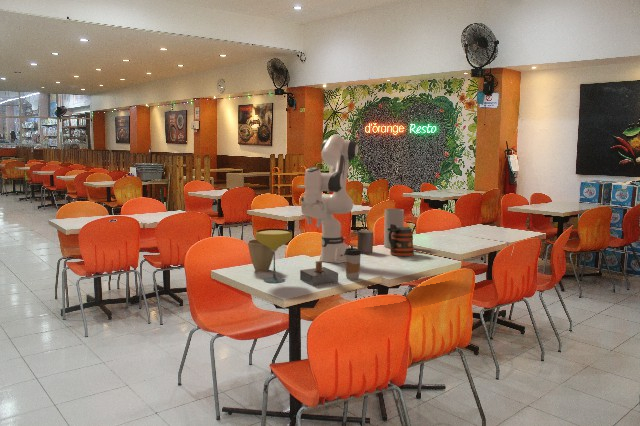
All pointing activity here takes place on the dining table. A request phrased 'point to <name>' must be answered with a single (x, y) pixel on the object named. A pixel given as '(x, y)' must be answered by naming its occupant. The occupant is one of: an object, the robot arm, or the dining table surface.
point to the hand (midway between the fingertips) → (313, 225)
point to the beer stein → (401, 241)
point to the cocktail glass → (274, 245)
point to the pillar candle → (365, 241)
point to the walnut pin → (318, 266)
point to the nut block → (318, 276)
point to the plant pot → (260, 255)
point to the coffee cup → (352, 263)
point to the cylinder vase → (392, 222)
